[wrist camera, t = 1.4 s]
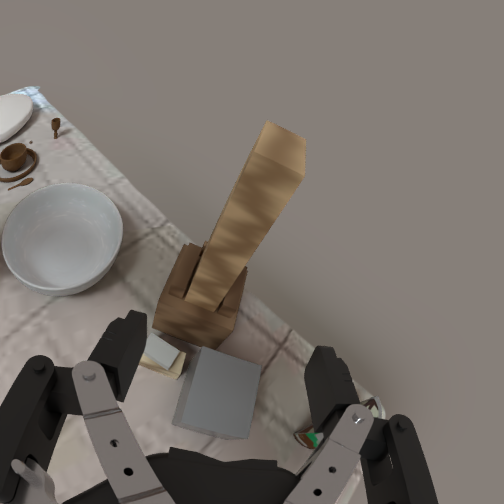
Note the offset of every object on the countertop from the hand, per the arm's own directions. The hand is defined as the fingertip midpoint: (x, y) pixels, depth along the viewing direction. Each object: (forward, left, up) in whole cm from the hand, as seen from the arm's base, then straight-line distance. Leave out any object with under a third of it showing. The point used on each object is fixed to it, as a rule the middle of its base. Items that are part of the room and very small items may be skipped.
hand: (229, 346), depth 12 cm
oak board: (0, +16, -19) cm, 25 cm away
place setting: (-49, +32, -29) cm, 66 cm away
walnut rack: (0, +16, -28) cm, 33 cm away
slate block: (+6, +3, -28) cm, 29 cm away
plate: (-75, +39, -29) cm, 89 cm away
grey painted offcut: (-3, +6, -25) cm, 26 cm away
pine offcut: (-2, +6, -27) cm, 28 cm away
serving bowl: (-24, +16, -29) cm, 41 cm away
